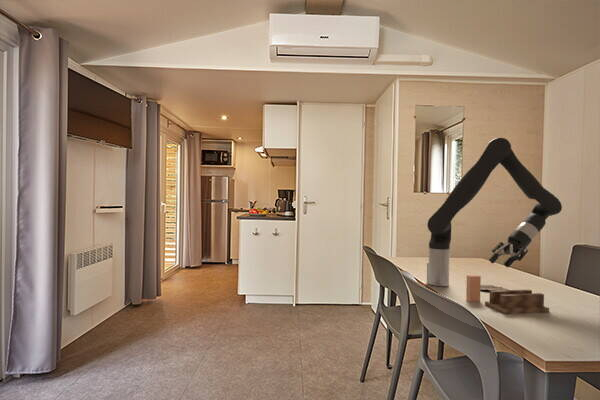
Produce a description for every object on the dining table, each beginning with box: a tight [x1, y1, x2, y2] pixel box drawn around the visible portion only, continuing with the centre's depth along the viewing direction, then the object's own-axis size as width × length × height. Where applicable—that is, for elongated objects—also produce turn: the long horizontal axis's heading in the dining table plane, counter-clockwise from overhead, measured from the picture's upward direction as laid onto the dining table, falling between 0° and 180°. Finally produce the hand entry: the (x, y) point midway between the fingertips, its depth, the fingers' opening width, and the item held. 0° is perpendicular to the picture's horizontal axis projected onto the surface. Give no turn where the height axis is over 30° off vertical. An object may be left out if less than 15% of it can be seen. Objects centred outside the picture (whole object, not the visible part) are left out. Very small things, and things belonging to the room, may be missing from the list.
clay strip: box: [465, 274, 482, 303], centre depth 149 cm, size 4×2×10 cm, turn 100°
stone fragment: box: [480, 284, 509, 291], centre depth 162 cm, size 25×3×10 cm
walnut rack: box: [484, 288, 550, 315], centre depth 139 cm, size 18×11×6 cm, turn 100°
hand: (498, 263), depth 151 cm, fingers open, 8 cm apart
